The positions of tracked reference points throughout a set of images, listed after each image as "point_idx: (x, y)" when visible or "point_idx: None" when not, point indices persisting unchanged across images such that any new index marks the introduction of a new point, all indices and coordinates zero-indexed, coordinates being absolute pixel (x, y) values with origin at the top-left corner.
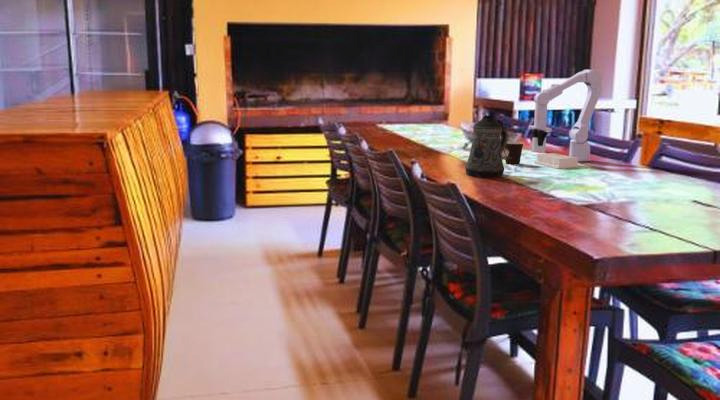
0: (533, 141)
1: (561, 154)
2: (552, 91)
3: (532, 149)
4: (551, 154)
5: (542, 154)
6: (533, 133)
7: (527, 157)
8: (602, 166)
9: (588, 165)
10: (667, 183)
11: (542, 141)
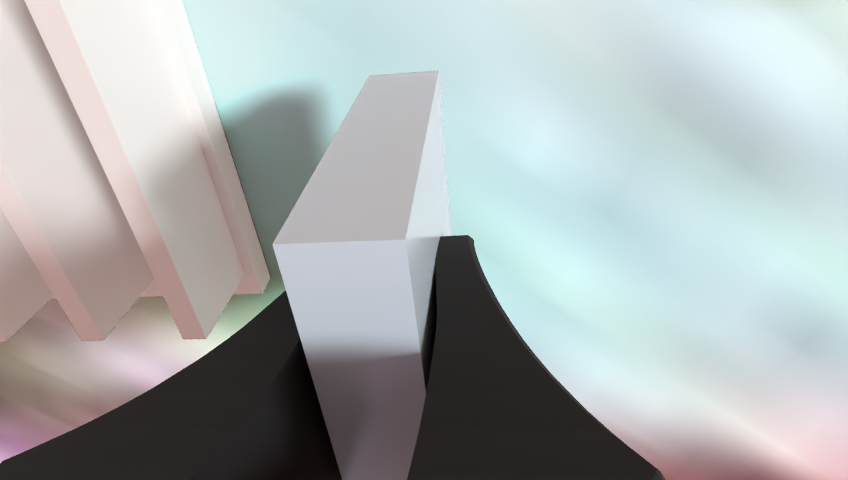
0: (356, 175)
1: (78, 329)
2: None
3: (411, 88)
4: (152, 247)
5: (58, 65)
6: (490, 445)
7: (750, 173)
8: (3, 446)
9: (45, 398)
10: None
11: None
